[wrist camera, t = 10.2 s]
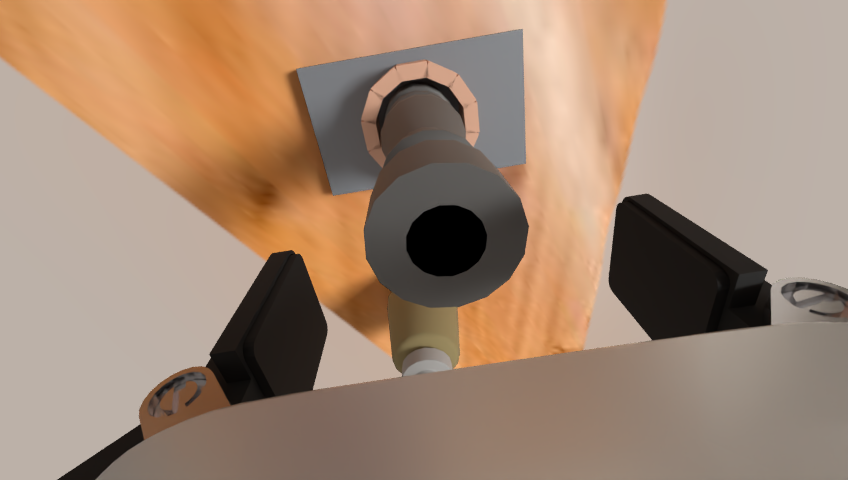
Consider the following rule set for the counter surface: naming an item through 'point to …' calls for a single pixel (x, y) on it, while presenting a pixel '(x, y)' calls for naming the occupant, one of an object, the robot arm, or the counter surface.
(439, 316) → the squeeze bottle
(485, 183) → the candle holder
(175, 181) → the counter surface
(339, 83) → the socket board
